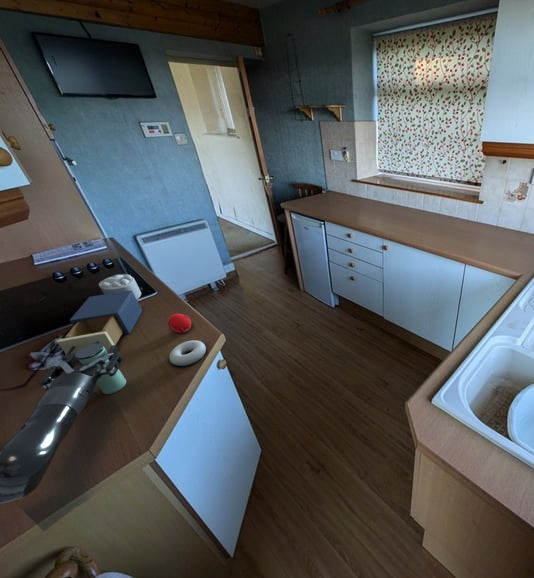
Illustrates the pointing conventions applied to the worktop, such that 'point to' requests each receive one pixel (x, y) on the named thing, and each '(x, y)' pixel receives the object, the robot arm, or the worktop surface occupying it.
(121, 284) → the lumpy-topped squat cylinder
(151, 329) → the worktop surface
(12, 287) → the worktop surface
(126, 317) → the cabinet
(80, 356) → the tin
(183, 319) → the red rounded lump
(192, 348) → the donut
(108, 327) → the drawer
